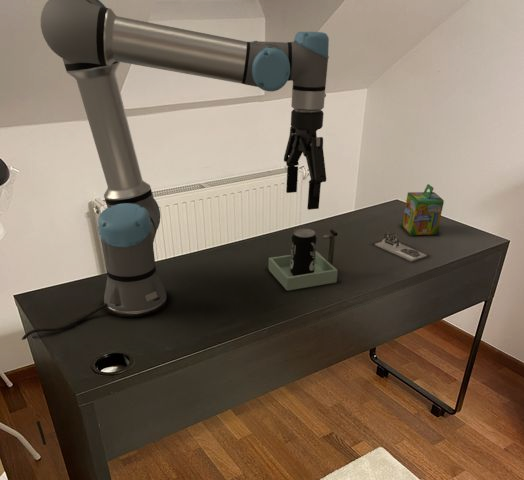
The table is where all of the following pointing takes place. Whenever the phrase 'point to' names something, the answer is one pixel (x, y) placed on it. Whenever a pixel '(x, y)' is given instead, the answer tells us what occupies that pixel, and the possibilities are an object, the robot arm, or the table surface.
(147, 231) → the robot arm
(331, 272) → the sink
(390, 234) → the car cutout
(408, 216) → the chalk box
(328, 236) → the tap
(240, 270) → the table surface
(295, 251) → the beverage can
